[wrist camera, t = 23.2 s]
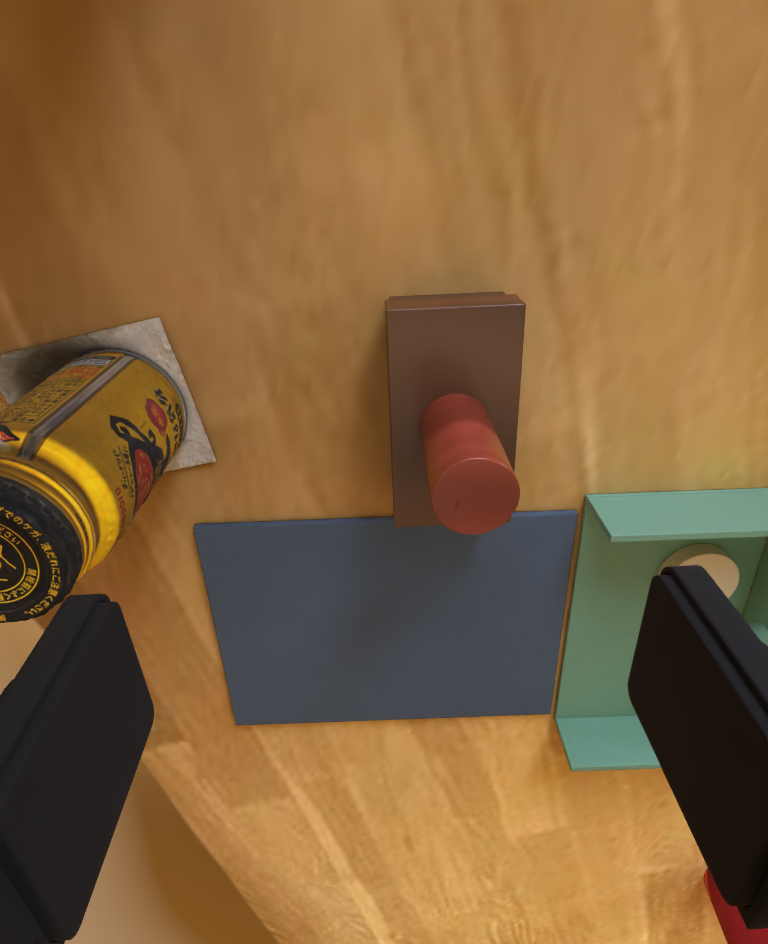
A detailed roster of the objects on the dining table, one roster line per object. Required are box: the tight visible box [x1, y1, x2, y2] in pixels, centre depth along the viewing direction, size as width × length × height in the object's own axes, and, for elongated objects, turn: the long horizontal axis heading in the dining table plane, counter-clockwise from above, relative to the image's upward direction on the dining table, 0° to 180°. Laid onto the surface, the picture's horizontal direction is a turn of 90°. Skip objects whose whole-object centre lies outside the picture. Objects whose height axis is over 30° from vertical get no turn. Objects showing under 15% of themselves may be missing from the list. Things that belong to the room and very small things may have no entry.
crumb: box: [658, 544, 739, 598], centre depth 33 cm, size 4×4×1 cm
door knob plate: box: [385, 292, 526, 535], centre depth 24 cm, size 10×5×9 cm, turn 2°
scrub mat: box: [193, 510, 578, 725], centre depth 35 cm, size 15×20×1 cm
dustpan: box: [554, 488, 768, 771], centre depth 33 cm, size 20×17×4 cm
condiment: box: [0, 317, 217, 623], centre depth 23 cm, size 7×8×12 cm
